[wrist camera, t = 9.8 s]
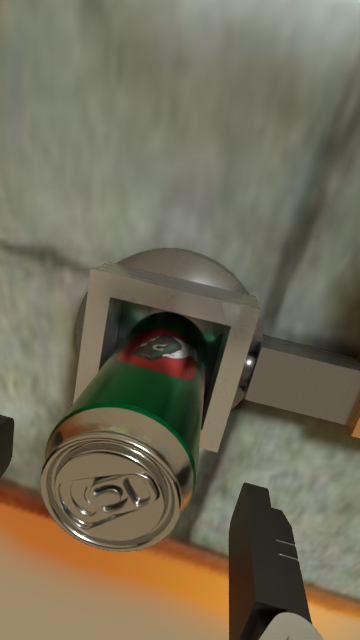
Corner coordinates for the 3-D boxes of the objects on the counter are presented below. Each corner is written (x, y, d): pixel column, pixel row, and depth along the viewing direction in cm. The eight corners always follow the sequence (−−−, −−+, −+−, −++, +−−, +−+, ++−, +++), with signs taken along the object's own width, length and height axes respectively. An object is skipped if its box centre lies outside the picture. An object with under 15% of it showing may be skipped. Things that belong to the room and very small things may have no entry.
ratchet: (551, 334, 20) (642, 367, 16) (456, 490, 24) (508, 551, 19) (96, 228, 21) (65, 232, 17) (75, 392, 25) (44, 429, 21)
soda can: (116, 325, 21) (-4, 451, 10) (189, 297, 20) (150, 401, 9) (148, 393, 22) (74, 575, 11) (220, 369, 21) (219, 544, 10)
